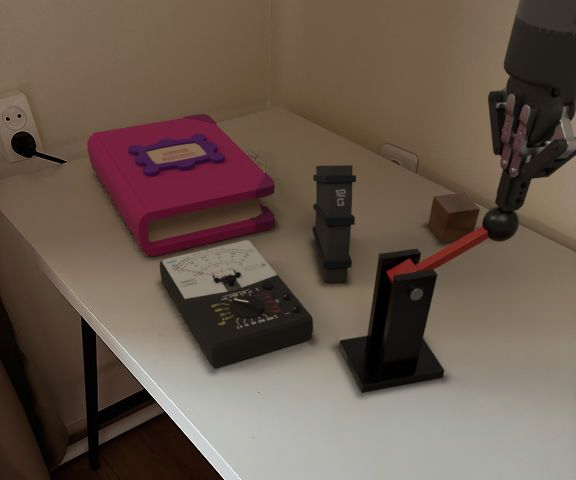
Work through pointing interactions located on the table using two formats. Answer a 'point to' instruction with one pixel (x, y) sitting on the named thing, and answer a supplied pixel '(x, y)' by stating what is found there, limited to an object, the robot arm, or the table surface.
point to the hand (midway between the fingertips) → (507, 207)
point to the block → (453, 216)
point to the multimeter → (234, 302)
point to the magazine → (333, 220)
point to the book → (181, 183)
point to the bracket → (395, 329)
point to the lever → (465, 242)
